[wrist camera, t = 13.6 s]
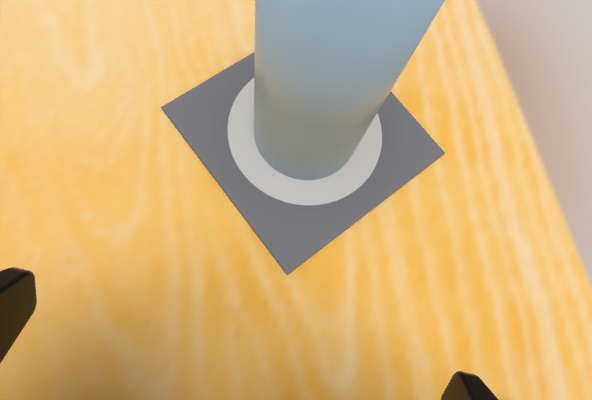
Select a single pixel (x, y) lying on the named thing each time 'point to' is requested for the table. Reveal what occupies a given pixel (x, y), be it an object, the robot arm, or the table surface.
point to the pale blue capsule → (327, 75)
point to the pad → (285, 190)
